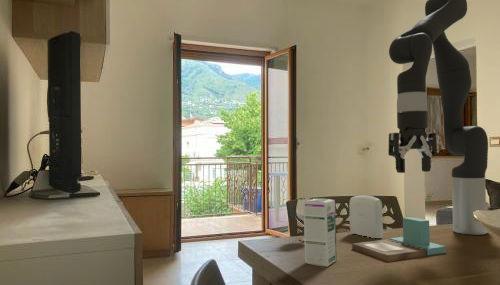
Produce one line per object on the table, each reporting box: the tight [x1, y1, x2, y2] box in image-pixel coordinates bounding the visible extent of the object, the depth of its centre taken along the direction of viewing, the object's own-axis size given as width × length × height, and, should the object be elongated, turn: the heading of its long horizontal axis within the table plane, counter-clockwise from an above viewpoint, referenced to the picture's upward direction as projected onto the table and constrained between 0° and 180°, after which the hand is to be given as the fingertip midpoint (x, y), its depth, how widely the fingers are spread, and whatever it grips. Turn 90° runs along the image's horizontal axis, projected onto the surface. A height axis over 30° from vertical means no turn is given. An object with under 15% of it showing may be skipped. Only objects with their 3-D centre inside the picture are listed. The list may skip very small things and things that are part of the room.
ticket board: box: [351, 238, 427, 262], centre depth 99 cm, size 12×13×2 cm
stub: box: [388, 216, 447, 256], centre depth 103 cm, size 6×13×8 cm, turn 23°
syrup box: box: [303, 198, 338, 267], centre depth 91 cm, size 6×6×14 cm
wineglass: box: [295, 197, 314, 240], centre depth 114 cm, size 6×6×12 cm
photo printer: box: [348, 194, 384, 239], centre depth 119 cm, size 10×4×12 cm, turn 39°
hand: (413, 172), depth 103 cm, fingers open, 8 cm apart
